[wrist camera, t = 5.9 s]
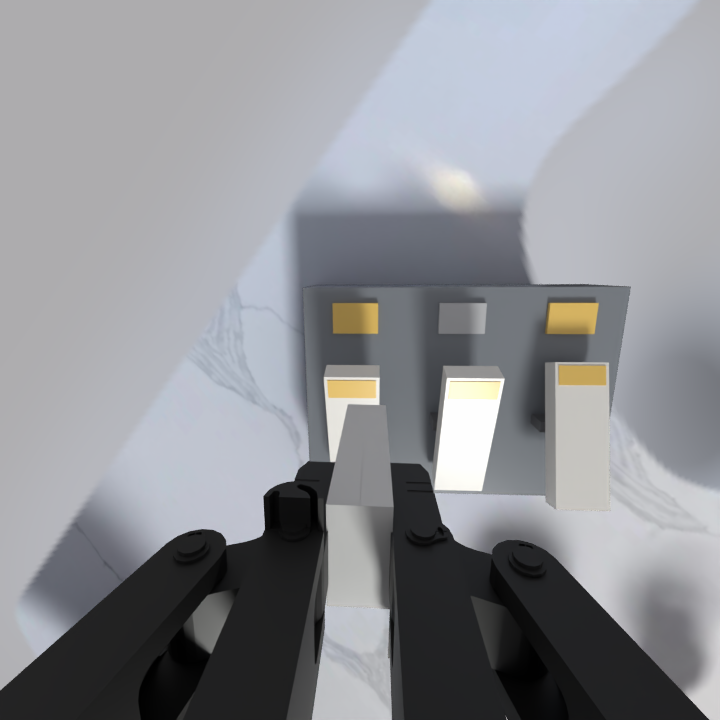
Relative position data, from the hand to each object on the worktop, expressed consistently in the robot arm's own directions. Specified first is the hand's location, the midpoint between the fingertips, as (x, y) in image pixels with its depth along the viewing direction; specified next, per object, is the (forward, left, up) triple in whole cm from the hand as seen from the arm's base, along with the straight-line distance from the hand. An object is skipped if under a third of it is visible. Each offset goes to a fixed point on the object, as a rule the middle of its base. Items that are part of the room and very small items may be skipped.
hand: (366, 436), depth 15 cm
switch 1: (-1, -4, -9) cm, 9 cm away
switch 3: (+13, -4, -9) cm, 16 cm away
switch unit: (+6, -2, -16) cm, 17 cm away
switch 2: (+6, -4, -9) cm, 11 cm away
